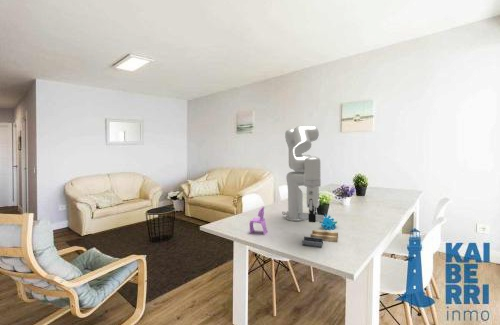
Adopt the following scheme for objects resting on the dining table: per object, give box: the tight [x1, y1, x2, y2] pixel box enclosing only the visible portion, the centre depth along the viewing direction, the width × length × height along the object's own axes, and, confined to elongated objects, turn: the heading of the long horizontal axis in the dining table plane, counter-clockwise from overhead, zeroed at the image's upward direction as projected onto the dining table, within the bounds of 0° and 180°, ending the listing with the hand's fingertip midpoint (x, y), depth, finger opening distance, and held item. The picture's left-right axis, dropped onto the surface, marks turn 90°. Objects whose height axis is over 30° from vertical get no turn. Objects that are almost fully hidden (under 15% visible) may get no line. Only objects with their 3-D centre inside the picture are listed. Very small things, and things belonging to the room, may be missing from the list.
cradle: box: [301, 235, 324, 249], centre depth 121 cm, size 9×7×3 cm
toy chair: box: [249, 206, 269, 236], centre depth 140 cm, size 8×9×15 cm
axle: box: [297, 212, 325, 222], centre depth 121 cm, size 12×3×3 cm, turn 68°
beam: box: [309, 229, 339, 243], centre depth 129 cm, size 13×8×3 cm, turn 68°
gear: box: [319, 214, 338, 231], centre depth 146 cm, size 11×6×10 cm
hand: (312, 220), depth 120 cm, fingers closed on axle, 3 cm apart
